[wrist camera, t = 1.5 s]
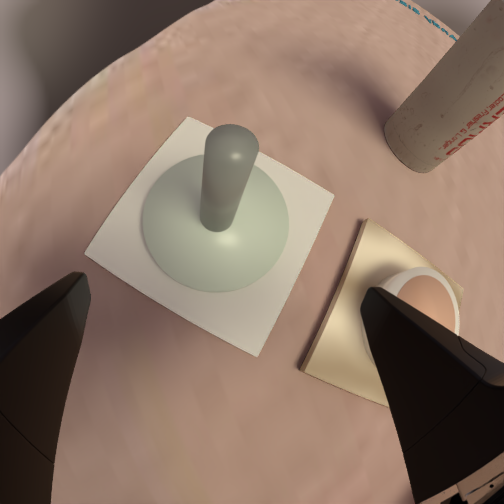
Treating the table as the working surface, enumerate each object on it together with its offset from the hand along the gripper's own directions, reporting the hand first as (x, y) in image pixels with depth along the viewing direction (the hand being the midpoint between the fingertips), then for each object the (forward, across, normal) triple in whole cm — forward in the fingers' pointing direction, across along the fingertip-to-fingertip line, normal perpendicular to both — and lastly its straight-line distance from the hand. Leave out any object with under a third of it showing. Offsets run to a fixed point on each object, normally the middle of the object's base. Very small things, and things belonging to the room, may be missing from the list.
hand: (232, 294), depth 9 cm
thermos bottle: (+23, -22, -4) cm, 32 cm away
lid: (+14, 0, +4) cm, 14 cm away
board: (+8, -16, +10) cm, 21 cm away
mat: (+14, 0, +4) cm, 15 cm away
